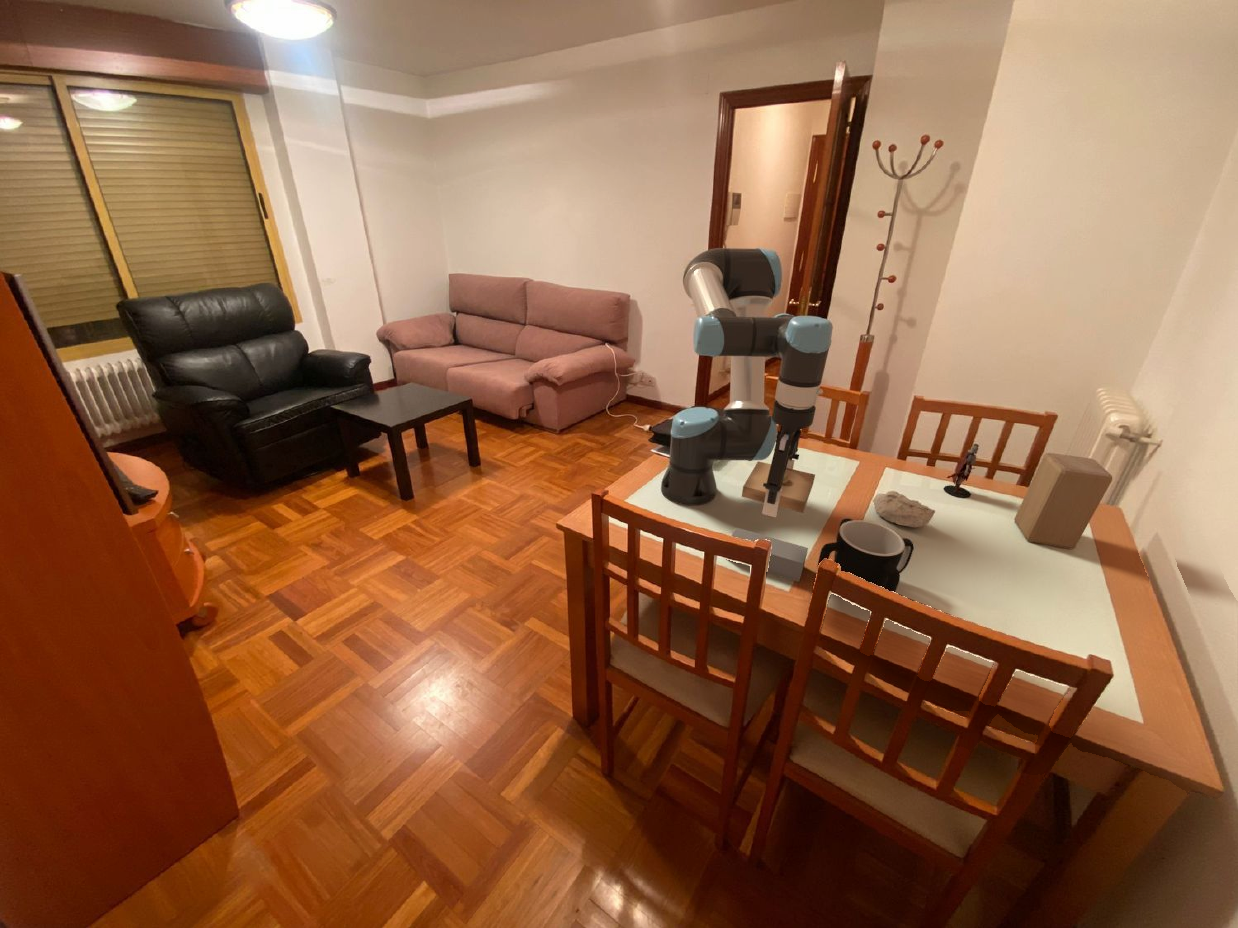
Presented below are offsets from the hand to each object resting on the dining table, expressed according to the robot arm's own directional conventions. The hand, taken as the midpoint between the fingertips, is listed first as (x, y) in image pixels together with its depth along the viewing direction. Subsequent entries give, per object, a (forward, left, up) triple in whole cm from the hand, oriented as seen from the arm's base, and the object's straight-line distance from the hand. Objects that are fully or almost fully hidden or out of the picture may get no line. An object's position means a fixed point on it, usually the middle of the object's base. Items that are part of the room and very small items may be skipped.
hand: (776, 499), depth 104 cm
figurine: (+40, +57, -17) cm, 72 cm away
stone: (+26, +34, -17) cm, 46 cm away
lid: (0, 0, +2) cm, 2 cm away
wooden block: (+58, +43, -17) cm, 74 cm away
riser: (0, 0, -16) cm, 16 cm away
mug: (+19, +3, -17) cm, 25 cm away
